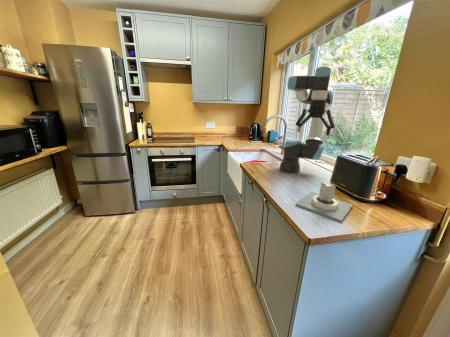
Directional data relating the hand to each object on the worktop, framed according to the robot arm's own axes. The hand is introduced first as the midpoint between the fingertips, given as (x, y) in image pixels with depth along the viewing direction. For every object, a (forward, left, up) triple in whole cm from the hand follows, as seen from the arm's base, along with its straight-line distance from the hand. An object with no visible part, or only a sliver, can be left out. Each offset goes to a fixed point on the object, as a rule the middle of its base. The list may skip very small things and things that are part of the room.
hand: (311, 139), depth 106 cm
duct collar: (+17, +17, -28) cm, 37 cm away
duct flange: (+17, +17, -29) cm, 37 cm away
